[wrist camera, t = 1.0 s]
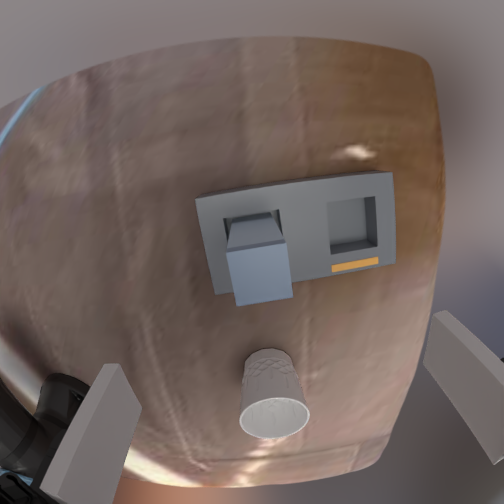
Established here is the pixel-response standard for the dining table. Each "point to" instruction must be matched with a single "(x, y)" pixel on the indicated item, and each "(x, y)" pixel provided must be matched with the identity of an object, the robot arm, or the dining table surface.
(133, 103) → the dining table surface
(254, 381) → the white cup
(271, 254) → the plug
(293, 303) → the dining table surface
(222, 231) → the panel
